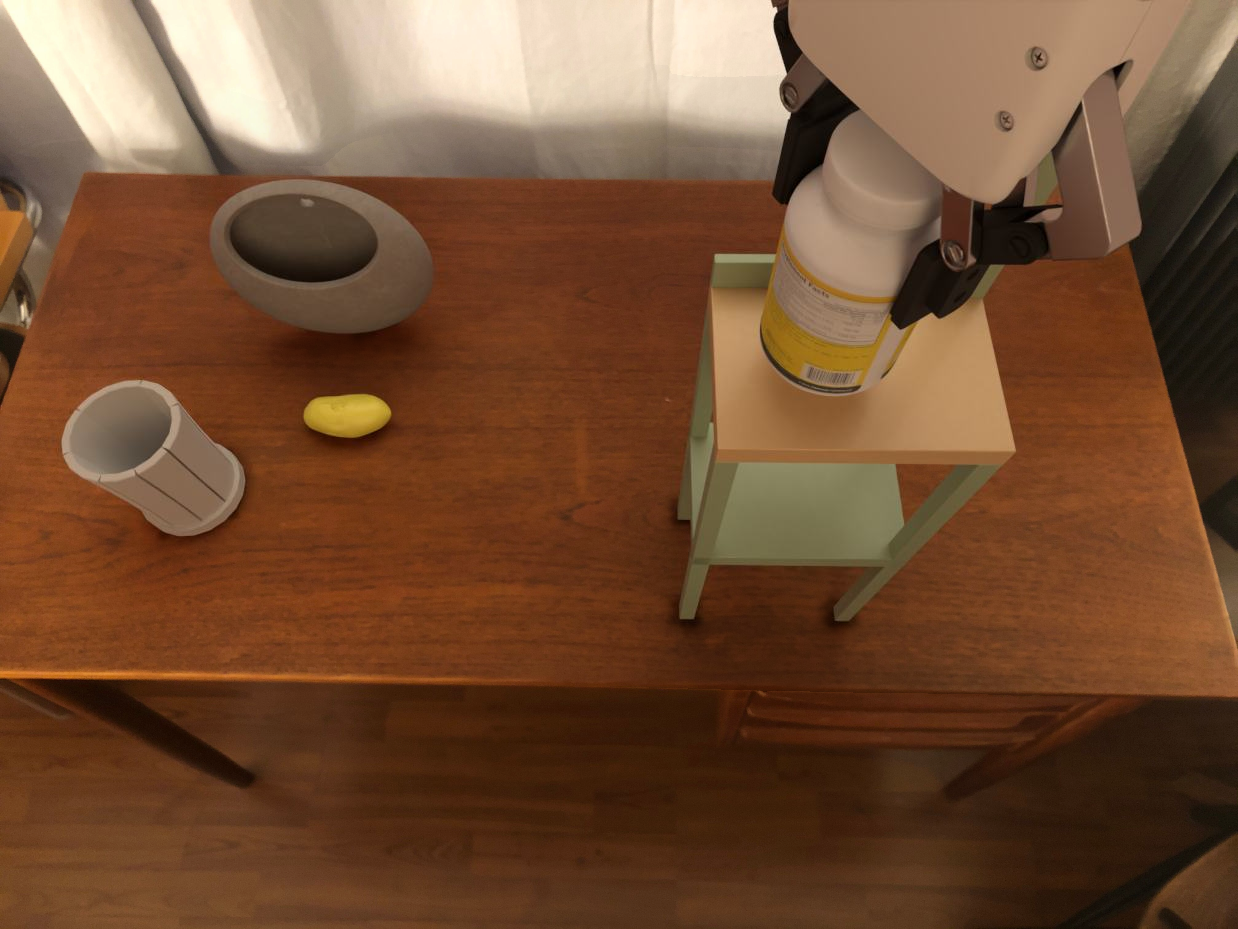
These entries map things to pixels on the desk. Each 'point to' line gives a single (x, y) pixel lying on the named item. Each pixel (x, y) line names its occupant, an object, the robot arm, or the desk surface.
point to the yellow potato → (347, 415)
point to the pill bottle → (848, 262)
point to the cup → (153, 457)
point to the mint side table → (833, 440)
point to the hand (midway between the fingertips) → (863, 243)
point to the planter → (321, 256)
